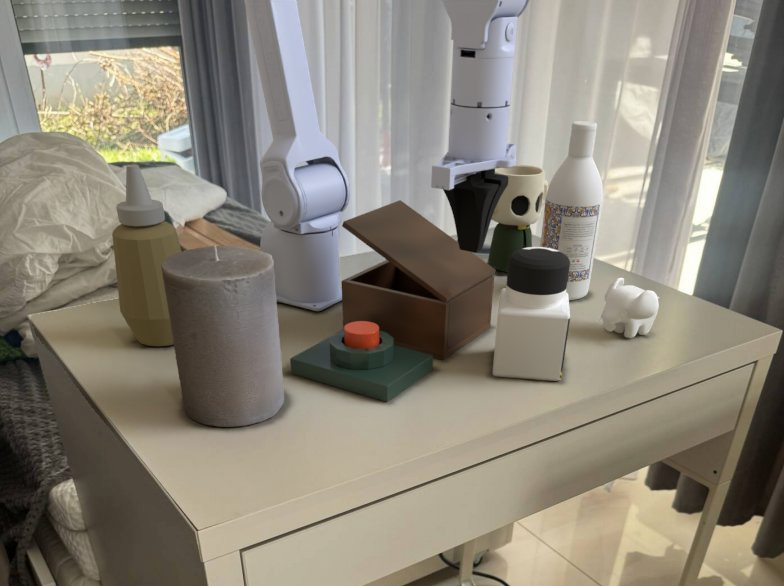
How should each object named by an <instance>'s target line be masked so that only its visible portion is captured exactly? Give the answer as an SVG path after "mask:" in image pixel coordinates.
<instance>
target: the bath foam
mask: <svg viewBox="0 0 784 586" xmlns="http://www.w3.org/2000/svg"><path fill="white" fill-rule="evenodd" d="M597 130H598V123H597V122H595V121H589V120H576V121H572V123H571V132H570V137H569V144H568V152H567V153H568V155H567V156H566V158H565V159H564V160H563V162H562V163H561V165H560V166H559V167H558V168H557V170H556V172H555V173H554V175H552V177H551V180H550V183H549V184H548V191H547V195H546V201H545V204H544V210H543V218H542V219H543V220H542V225H541V226H542V227H541V234H540V235H541V236H540V244H539V247H546V248H551V249H555V250H558V251H560V252H561V253H563V254H565V255H566V256H567V257H568V258H569V260H570V267H569V274H568V281H567V288H566V292H567V293H568V297H569V301H575V300H579V299H583V298H584V297H585V296H587V295H588V293H589V290H590V285H591V278H592V271H593V266H594V265H593V264H594V259H595V253H596V246H597V241H598V235H599V228H600V221H601V216H602V215H601V214H602V209H603V201H604V186H603V181H602V177H601V174H600V172H599V170H598V167H597V165H596V162H595V160H594V151H595V143H596V137H597Z"/></svg>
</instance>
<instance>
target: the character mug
mask: <svg viewBox="0 0 784 586" xmlns="http://www.w3.org/2000/svg"><path fill="white" fill-rule="evenodd" d="M495 174H500V175H506V176H508V177H509V179H508V186H507V187H506V189H505V190H504V192H503V194H502V195H501V197H500V199H499V201H498V203H497V206H496V208H495V210H494V213H493V216H492V219H491V221H493V222H495V223H497V224H496V225H495V227H494V229H493V233H492V238H491V243H490V247H489V253H488V258H487V264H488V265H490V266H491V267H492V268H494V269H495V270H498V271H499V272H506V273H508V263H509V257H510V256H511V255H512V253H514V252H515V251H518V250H520V249H523V248H527V247H533V235H532V234H533V232H532V228H531V225H534V224H536V223H537V222H538V221H539V219H540V218H541V215H542V211H543V206H545V201H546V195H547V191H548V188H549V182H548V180H547V179H546V170H545V169H544V168H541V167H538V166H533V165H527V164H516V165H515V166H513V167H511V168H497V169H495Z"/></svg>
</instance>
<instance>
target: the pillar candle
mask: <svg viewBox="0 0 784 586" xmlns="http://www.w3.org/2000/svg"><path fill="white" fill-rule="evenodd" d="M181 251H182V252H178V253H175V254H173V255H171V256H169V257H168V258H167V259H165V260H164V261H163V263H162V265H161V268H162V274H163V280H164V287H165V293H166V299H167V304H168V311H169V316H170V323H171V329H172V335H173V343H174V344H173V349H174V354H175V361H176V367H177V373H178V379H179V385H180V391H181V400H182V405H183V410H184V412H185V413H186V415H187V416H188V417H189V418H190V419H191V420H194V421H196V422H197V423H200V424H203V425H207V426H214V427H220V428H234V427H245V426H249V425H254V424H256V423H257V424H258V423H261V422H265V421H266V420H268V419H271V418H272V417H274V416H276V415H277V414H278V412H279V411H280V409H281V408H282V407H283V405H284V403H285V390H284V389H285V388H284V375H283V361H282V351H281V339H280V326H279V315H278V304H277V303H278V301H277V300H276V291H275V276H274V267H273V265H274V263H273V262H274V261H273V259H272V257H273V256H271V255H270V254H268V253H263V252H262V251H260V250H259V249H255V248H250V247H245V246H235V245H217V244H214V245H211V246H201V247H196V248H189V249H186V250H181Z"/></svg>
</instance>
